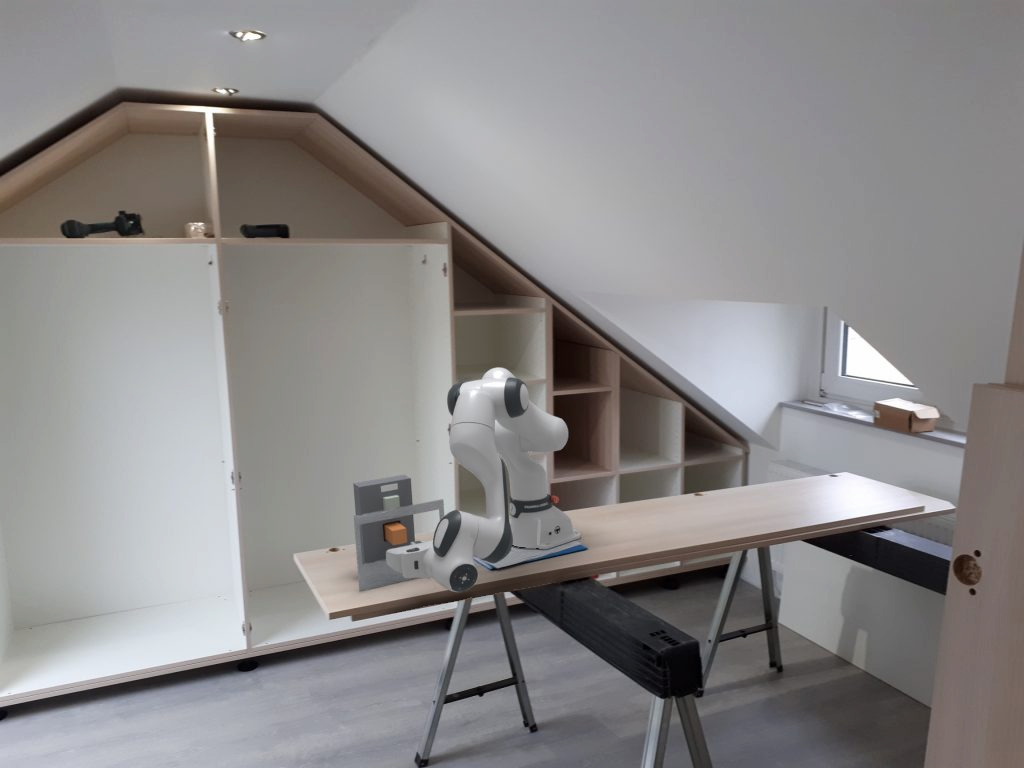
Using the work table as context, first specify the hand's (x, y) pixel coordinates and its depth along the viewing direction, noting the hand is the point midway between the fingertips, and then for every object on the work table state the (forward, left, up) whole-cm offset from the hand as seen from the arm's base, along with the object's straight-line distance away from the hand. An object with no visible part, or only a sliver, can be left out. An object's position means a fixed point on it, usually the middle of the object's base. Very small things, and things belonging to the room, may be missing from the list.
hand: (415, 544), depth 218 cm
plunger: (0, -16, -3) cm, 16 cm away
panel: (+1, -21, -13) cm, 25 cm away
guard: (0, -14, -13) cm, 20 cm away
